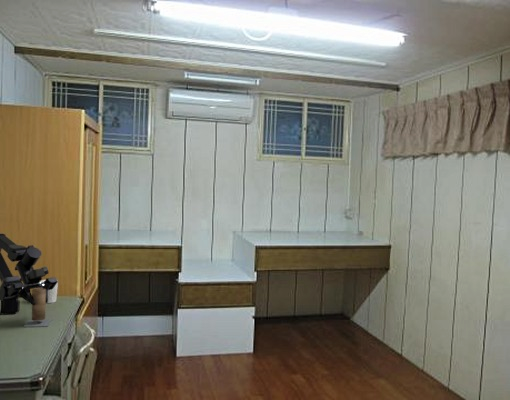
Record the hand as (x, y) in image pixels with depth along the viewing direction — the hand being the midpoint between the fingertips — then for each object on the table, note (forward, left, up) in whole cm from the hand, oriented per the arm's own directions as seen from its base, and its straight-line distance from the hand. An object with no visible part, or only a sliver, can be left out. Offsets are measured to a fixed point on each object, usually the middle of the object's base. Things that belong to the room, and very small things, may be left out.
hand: (40, 303), depth 188 cm
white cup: (-5, +36, -9) cm, 37 cm away
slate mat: (-1, +1, -8) cm, 9 cm away
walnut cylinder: (-1, +1, -7) cm, 7 cm away
